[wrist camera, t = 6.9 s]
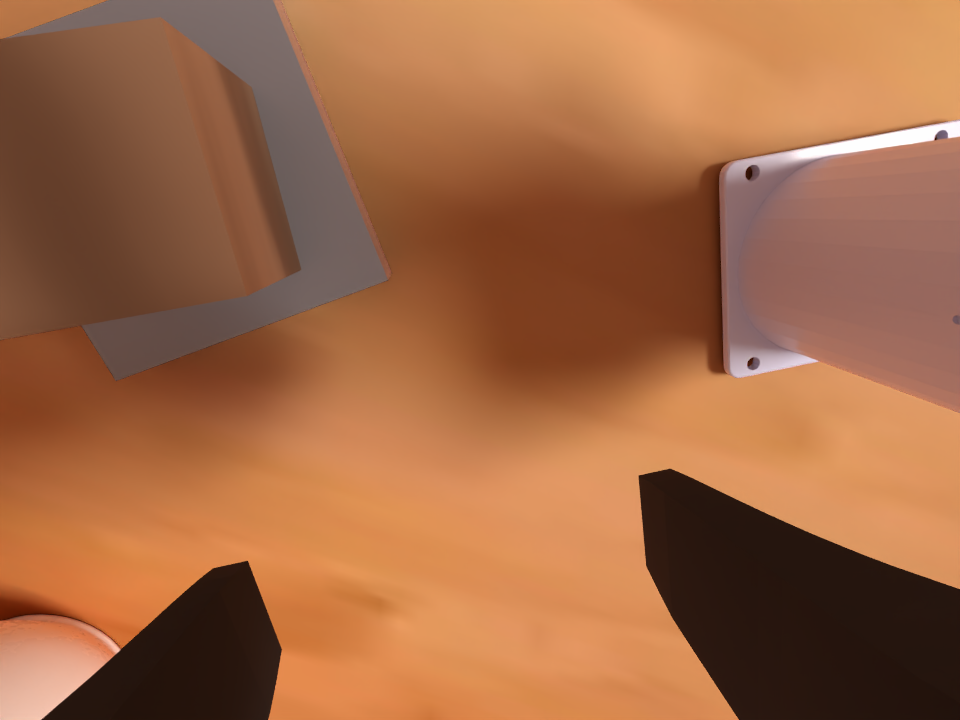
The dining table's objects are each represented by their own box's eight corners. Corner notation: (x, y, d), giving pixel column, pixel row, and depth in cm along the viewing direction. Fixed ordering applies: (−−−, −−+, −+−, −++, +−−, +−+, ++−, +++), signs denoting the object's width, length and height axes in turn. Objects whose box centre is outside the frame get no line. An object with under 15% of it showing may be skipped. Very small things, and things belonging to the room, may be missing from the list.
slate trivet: (279, -10, 15) (251, -53, 12) (392, 271, 18) (388, 280, 15) (0, 92, 15) (-81, 69, 12) (157, 358, 18) (115, 381, 15)
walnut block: (251, 87, 13) (161, 17, 9) (301, 269, 15) (247, 296, 10) (61, 115, 13) (-144, 59, 8) (131, 299, 14) (-8, 341, 10)
